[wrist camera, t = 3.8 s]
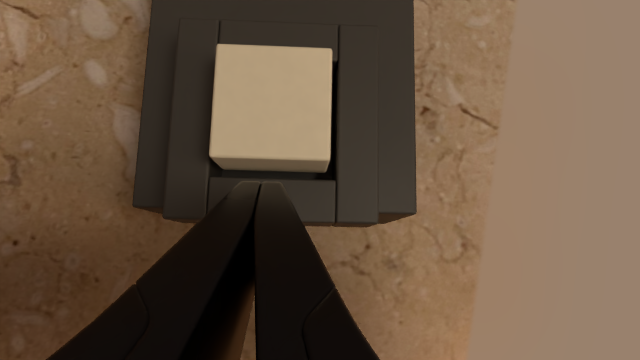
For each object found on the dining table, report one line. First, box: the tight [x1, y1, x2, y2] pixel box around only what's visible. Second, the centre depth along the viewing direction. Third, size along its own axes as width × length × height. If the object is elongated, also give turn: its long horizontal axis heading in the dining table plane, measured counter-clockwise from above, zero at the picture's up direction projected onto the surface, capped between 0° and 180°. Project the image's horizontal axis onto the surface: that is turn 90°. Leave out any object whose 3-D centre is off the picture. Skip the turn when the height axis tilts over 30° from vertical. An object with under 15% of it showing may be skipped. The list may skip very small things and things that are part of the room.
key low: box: [209, 44, 332, 173], centre depth 11 cm, size 3×3×2 cm
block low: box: [133, 0, 417, 227], centre depth 16 cm, size 12×9×7 cm
